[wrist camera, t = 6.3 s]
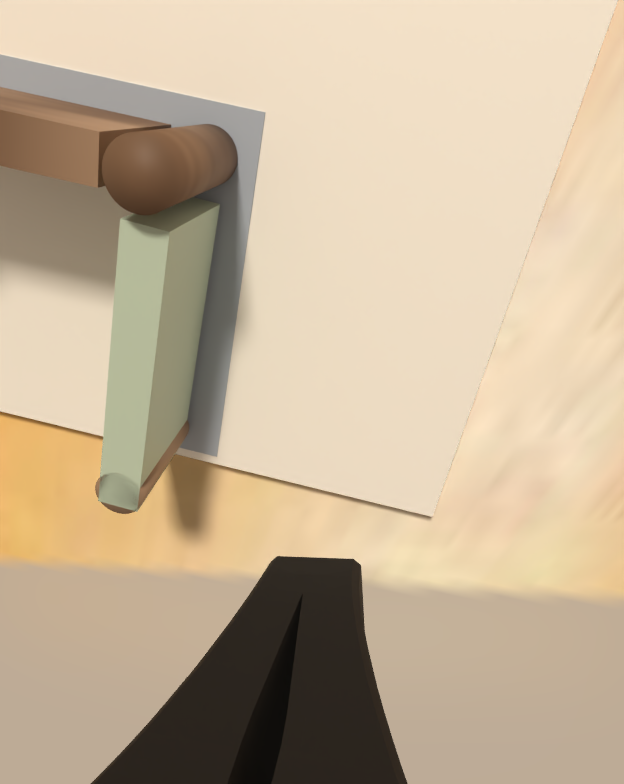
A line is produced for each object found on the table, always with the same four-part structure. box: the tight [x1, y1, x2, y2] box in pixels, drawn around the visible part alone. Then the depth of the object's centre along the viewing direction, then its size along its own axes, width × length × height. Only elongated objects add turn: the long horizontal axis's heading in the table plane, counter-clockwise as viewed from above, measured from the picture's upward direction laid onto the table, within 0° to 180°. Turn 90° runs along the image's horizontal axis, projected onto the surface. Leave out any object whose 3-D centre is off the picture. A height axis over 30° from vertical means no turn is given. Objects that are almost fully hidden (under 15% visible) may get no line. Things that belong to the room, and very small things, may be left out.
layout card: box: [0, 0, 618, 517], centre depth 15 cm, size 16×17×1 cm
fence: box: [0, 87, 238, 215], centre depth 13 cm, size 8×1×4 cm, turn 79°
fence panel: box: [95, 197, 220, 514], centre depth 15 cm, size 7×1×4 cm, turn 167°
